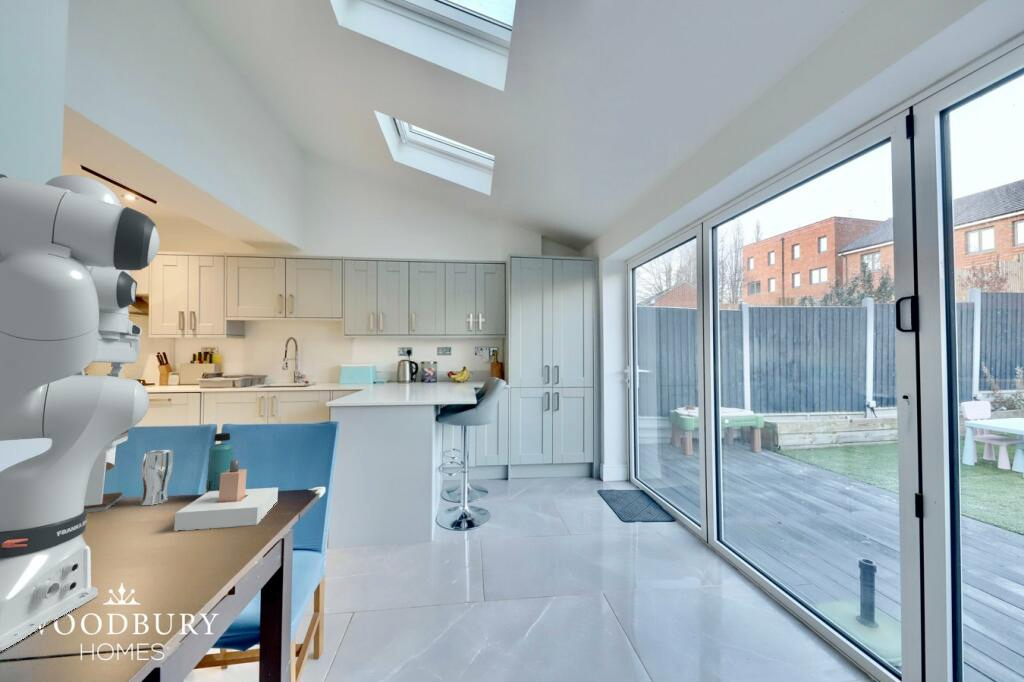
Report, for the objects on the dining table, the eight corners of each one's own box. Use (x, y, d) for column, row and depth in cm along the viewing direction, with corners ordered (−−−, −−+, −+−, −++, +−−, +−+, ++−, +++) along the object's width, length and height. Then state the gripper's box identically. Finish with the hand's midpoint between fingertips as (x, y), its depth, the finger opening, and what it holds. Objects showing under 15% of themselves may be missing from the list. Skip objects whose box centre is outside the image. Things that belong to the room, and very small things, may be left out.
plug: (235, 518, 106) (239, 462, 107) (217, 519, 105) (221, 462, 106) (243, 512, 110) (247, 458, 111) (225, 513, 109) (230, 458, 110)
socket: (256, 524, 101) (257, 507, 102) (173, 531, 96) (175, 512, 97) (277, 502, 119) (278, 487, 119) (208, 507, 114) (209, 491, 114)
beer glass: (146, 499, 119) (151, 449, 120) (174, 498, 121) (178, 449, 122) (132, 507, 112) (137, 454, 113) (161, 505, 114) (166, 453, 116)
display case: (105, 511, 109) (118, 386, 112) (51, 517, 104) (65, 386, 107) (121, 499, 119) (133, 384, 122) (72, 504, 114) (85, 384, 117)
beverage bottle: (235, 494, 125) (240, 432, 127) (218, 501, 118) (223, 435, 120) (217, 493, 126) (222, 431, 127) (198, 500, 119) (204, 434, 121)
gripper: (80, 320, 87) (74, 382, 86) (147, 330, 107) (142, 380, 106) (46, 319, 86) (39, 382, 84) (120, 329, 106) (115, 380, 104)
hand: (97, 381), depth 95 cm, fingers open, 8 cm apart
